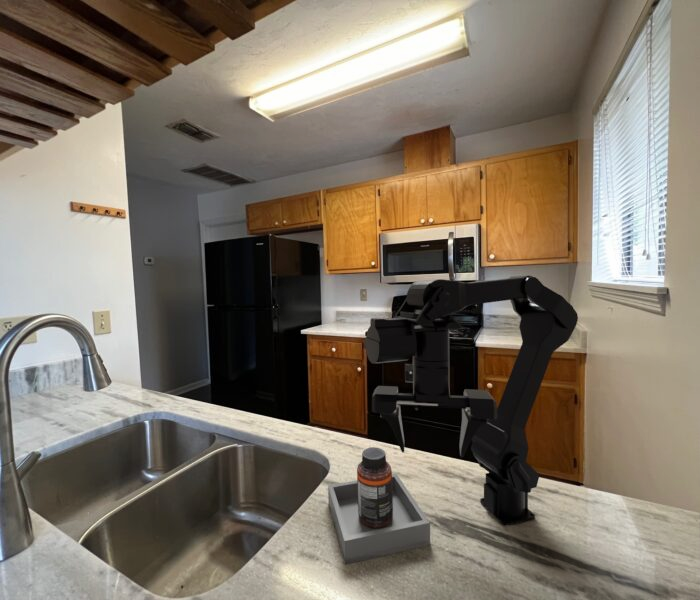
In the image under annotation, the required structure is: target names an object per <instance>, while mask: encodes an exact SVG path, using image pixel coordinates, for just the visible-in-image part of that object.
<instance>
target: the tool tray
mask: <svg viewBox="0 0 700 600" xmlns="http://www.w3.org/2000/svg"><path fill="white" fill-rule="evenodd" d="M357 487H358V486H357V480H352V481H351V480H350V481H346V482H340V483H334V484H329V485H327V496H328V497H327V498H328V499H327V500H328V507H329V510H330V514H331V519H332V521H333V525H334V529H335V533H336V536H337V540H338V543H339V549H340V552H341V555H342V559H343V563H344V565H349V564H353V563H357V562H363V561H366V560H370V559H375V558H378V557H383V556H388V555H393V554H397V553H401V552H405V551H409V550H414V549H418V548H423V547H426V546H431V522H430V521H429V519H428V518H427V516H426V515H425V513H424V512H423V510H422V509H421V507H420V506H419V505H418V503H417V501H416V500H415V498H414V497H413V496H412V494H411V493H410V491H409V490H408V489H407V487H406V486H405V483H403V481H402V480H401V478H400V476H399V475H398V474H397V473H392V497H393V518H392V520H391V522H390V523H389V524H388V525H387V526H385V527H382V528H371V527H368V526H366V525H364V524H363V523H362V522H361V520H360V519H359V513H358V504H357V503H358V489H357Z"/></svg>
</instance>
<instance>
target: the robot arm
mask: <svg viewBox="0 0 700 600" xmlns="http://www.w3.org/2000/svg"><path fill="white" fill-rule="evenodd" d="M504 301H510V302H511V306H512V309H513V311H514V312H515V314H517V316H518V317H520V322H519V325H518V327H519V331H520V337H521V341H522V343H521V345H520V348H519V351H518V353H517V356H516V358H515V361H514V364H513V366H512V369H511V372H510V374H509V377H508V380H507V382H506V385H505V388H504V391H503V392H502V395H501V398H500V399H499V404H498V405H497V402H496V400H495V399H494V398H493V396H492V395H491V393H490V392H489V391H488V390H487V389H472V388H471V389H469V388H468V389H467V388H465V389H464V391H463V395H453V394H452V395H451V391H450V388H451V387H450V331H451V330H461V329H462V324H461V323H459V322H458V321H457V320H456V319H455V318H454V317H453V314H456V313H458V312H460V311H463V310H464V309H465V308H467V307H469V306H473V305H481V304H489V303H490V304H491V303H495V302H504ZM395 313H396V314H395V315H394V316H393V318H381V317H380V318H379V317H371V318H370V326H369V327H368V328H367V331H366V337H365V339H364V343H365V345H364V346H365V351H366V356H367V359H368V361H369V362H370V363H371V364H373V365H374V364H384V363H394V362H405V361H409V360H410V359H411V358H412V363H405V364H404V381H405V383H412V393H407V392H406V393H402V392H399V387H398V386H396V385H395V386H393V385H391V386H390V385H377V387H376V388H375V389H374V390H373V393H372V396H371V412H372V413H375V414H379V415H380V416H379V417H380V419H385V420H386V421H387V423H388V424H389V426H390V428H391V429H392V432H393V433H394V435H395V438H396V441H397V443H398V446H399V449H400V451H401V453H405V435H404V428H403V421H402V414H401V413H402V411H401V406H405V407H407V406H408V407H424V408H446V409H461V425H460V426H461V427H460V434H459V456H460V458H464V457H465V454H466V452H467V450H468V448H469V446H471V447H470V449H471V452H472V454H473V457H474V458H475V460H477V462H478V466H479V467H480V468H482V469H484V470H486V471H487V473H485V483H484V484H483V497H482V498H480V499H479V503H480V504H481V505H483V506H484V507H485V509H486V510H487V511H488V512H489V513H490V514H491V515H492V516H493V517H494V518H495V519H497V521H498V522H499V523H500V524H501V525H503V526H510V525H514V524H519V523H523V522H529V521H532V520H536V514H535V513H533V512H532V511H531V510H530V509H529V494H530V493H531V492H532V490H533V489H534V488H537V487H538V482H539V479H540V474H539V473H538V471H536V469H534V468H533V467H532V466H531V465H530V464H529V463H528V462H527V458H528V453H529V444H528V439H527V435H526V426H527V425H528V421H529V417H530V416H531V412H532V410H533V407H534V404H535V402H536V399H537V396H538V393H539V391H540V388H541V385H542V382H543V380H544V378H545V375H546V372H547V370H548V367H549V364H550V360H551V358H552V356H553V353H554V352H555V351H556V350H558V349H559V348H560V347H562V346H563V345H565V343H567V342H568V341H569V340H570V337H572V335H573V333H574V330H575V329H576V326H577V325H578V321H579V317H578V312H577V311H576V310H575V308H574V307H573V305H572V304H571V303H570V302H568V301H567V300H566V298H565V297H563V295H561V294H559V293H557V292H556V291H554V290H553V289H550V288H548V287H547V286H545V285H544V284H543V283H542V282H541V281H540V280H539V279H538V278H537V277H536V276H533V275H515V276H510V277H508V278H499V279H489V280H480V281H471V282H463V281H459V280H449V279H426V280H425V279H423V280H417V281H414V282H413V283H411V285H410V286H409V288H408V290H407V293H406V298H405V299H404V302H403V303H402V305H401V306H400V307H399V309H398V310H397V312H395ZM471 441H472V442H471ZM470 444H471V445H470Z"/></svg>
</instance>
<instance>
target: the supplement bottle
mask: <svg viewBox="0 0 700 600" xmlns="http://www.w3.org/2000/svg"><path fill="white" fill-rule="evenodd" d="M386 455H387V454H386V451H385V450H384V449H382V448H380V447H374V446H373V447H368V448H365V449H363V450H362V453H361V461H360V462H359V464H358V465H357V467H356V479H357V480H356V481H357V486H358V487H357V489H358V503H357V504H358V513H359V519H360V520H361V522H362V523H363V524H364V525H366V526H368V527H371V528H382V527H385V526H387V525H388V524H389V523H390V522H391V520H392V518H393V497H392V474H393V472H392V467H391V465H390V464H391V463H389V462H388V461H387V457H386Z"/></svg>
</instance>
